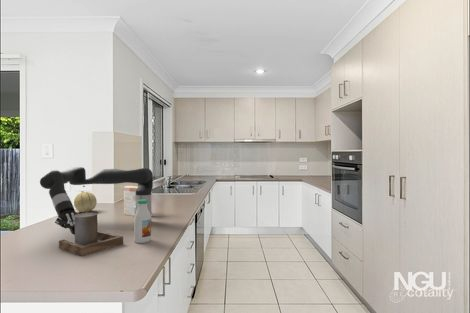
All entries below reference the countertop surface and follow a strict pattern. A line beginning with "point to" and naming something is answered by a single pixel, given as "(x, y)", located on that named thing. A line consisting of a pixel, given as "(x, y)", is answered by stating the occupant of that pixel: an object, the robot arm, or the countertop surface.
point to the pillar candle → (86, 228)
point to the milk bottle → (142, 223)
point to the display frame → (107, 242)
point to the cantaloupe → (85, 202)
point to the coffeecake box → (130, 200)
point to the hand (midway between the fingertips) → (75, 233)
